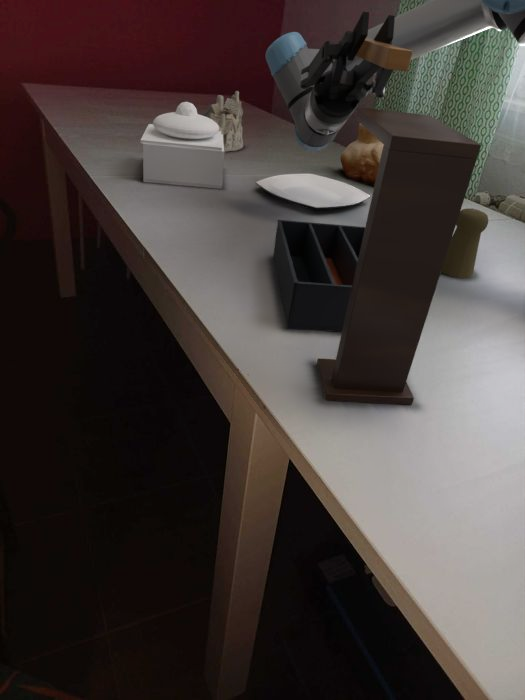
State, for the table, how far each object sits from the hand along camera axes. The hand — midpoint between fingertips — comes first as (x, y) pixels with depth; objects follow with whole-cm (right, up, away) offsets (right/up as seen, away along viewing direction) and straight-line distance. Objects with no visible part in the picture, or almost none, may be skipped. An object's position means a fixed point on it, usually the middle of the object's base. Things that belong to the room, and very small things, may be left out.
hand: (378, 25), depth 65 cm
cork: (+20, -25, +31) cm, 45 cm away
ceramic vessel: (+18, +5, +77) cm, 79 cm away
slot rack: (-4, -30, +18) cm, 36 cm away
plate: (-3, -4, +59) cm, 59 cm away
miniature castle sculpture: (-28, +21, +92) cm, 99 cm away
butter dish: (-33, +2, +63) cm, 71 cm away
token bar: (0, -4, +1) cm, 4 cm away
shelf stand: (-3, -41, +2) cm, 41 cm away
